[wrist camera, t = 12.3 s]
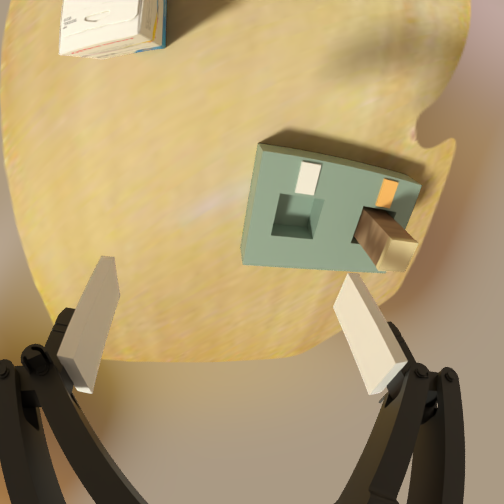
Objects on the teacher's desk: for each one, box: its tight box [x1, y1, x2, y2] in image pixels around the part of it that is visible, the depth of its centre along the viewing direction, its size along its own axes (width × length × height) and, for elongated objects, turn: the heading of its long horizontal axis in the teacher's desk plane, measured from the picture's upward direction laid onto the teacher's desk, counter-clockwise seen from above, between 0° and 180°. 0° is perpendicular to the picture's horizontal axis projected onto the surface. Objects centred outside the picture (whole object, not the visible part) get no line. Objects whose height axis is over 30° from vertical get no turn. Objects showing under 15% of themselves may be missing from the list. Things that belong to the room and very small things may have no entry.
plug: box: [353, 206, 418, 272], centre depth 37 cm, size 5×5×11 cm
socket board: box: [240, 143, 422, 273], centre depth 39 cm, size 16×24×5 cm, turn 81°
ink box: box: [59, 0, 167, 59], centre depth 19 cm, size 9×8×12 cm
